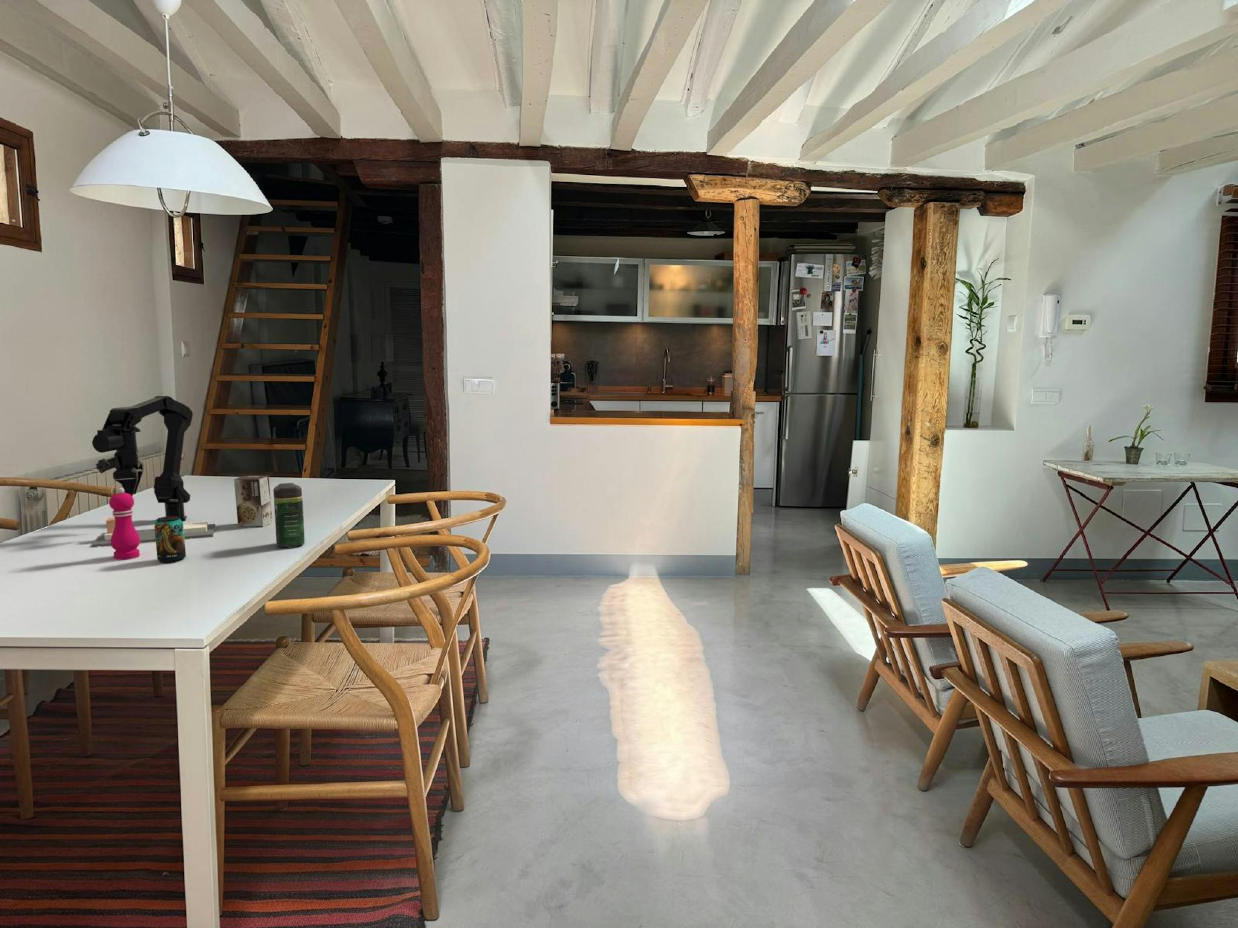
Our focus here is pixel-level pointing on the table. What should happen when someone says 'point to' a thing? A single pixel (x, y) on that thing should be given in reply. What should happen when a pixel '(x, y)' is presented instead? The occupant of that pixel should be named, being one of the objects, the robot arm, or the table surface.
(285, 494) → the coffee jar
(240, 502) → the coffee box
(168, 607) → the table surface
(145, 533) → the mat
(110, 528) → the stub
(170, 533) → the beverage can
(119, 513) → the pepper mill
